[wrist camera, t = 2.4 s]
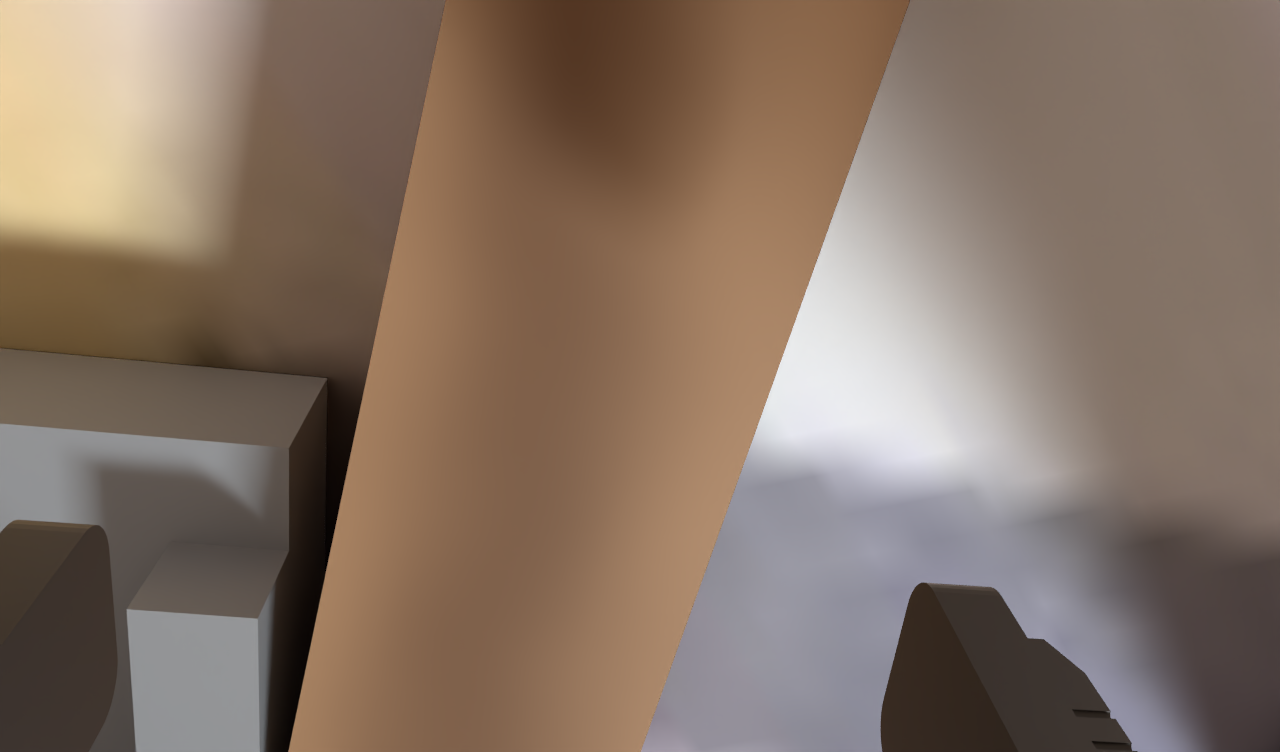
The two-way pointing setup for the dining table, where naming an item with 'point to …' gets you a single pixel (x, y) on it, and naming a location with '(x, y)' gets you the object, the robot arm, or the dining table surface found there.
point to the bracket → (182, 532)
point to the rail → (576, 358)
